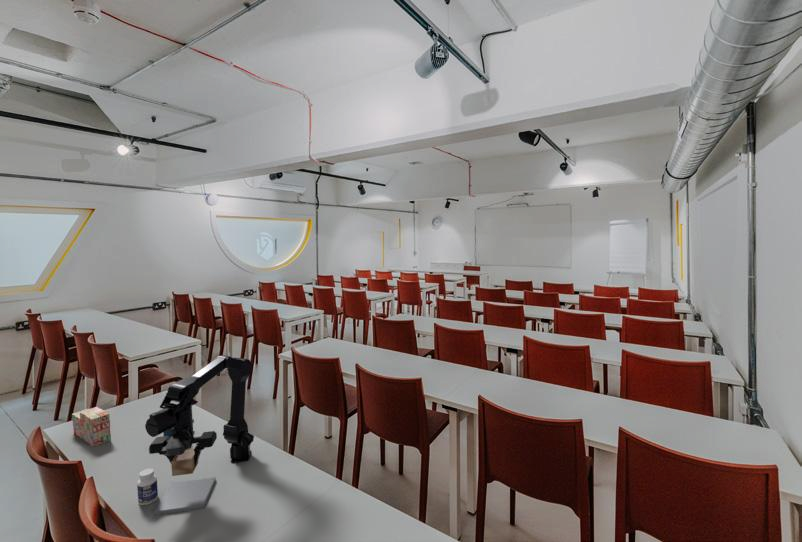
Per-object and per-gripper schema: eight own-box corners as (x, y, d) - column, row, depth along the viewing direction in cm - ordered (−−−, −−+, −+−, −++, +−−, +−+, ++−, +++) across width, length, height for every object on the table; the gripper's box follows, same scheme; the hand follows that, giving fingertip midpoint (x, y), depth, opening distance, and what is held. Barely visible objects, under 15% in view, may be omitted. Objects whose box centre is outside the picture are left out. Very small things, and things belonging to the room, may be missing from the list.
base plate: (215, 480, 132) (215, 477, 132) (203, 508, 119) (202, 504, 118) (172, 485, 129) (172, 482, 129) (154, 515, 116) (154, 511, 116)
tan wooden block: (198, 462, 127) (197, 448, 126) (192, 473, 121) (191, 459, 120) (179, 465, 125) (178, 451, 125) (172, 476, 120) (171, 461, 119)
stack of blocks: (73, 433, 165) (70, 407, 164) (90, 427, 170) (88, 401, 169) (93, 447, 154) (91, 419, 153) (111, 440, 159) (109, 412, 158)
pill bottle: (143, 508, 119) (141, 479, 118) (135, 501, 122) (133, 473, 121) (161, 498, 123) (159, 470, 123) (153, 492, 126) (151, 465, 125)
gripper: (138, 437, 112) (142, 486, 113) (205, 430, 116) (208, 477, 117) (155, 419, 123) (158, 464, 124) (215, 414, 127) (218, 457, 128)
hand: (185, 466), depth 123 cm, fingers closed on tan wooden block, 6 cm apart
